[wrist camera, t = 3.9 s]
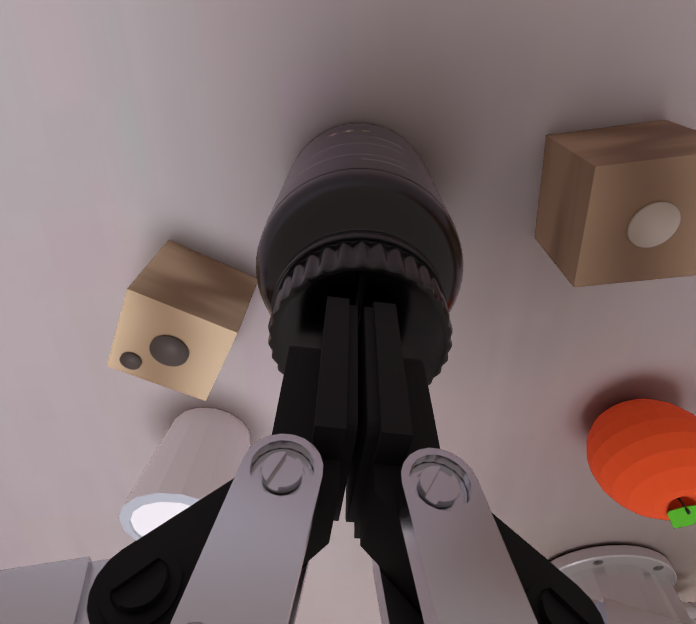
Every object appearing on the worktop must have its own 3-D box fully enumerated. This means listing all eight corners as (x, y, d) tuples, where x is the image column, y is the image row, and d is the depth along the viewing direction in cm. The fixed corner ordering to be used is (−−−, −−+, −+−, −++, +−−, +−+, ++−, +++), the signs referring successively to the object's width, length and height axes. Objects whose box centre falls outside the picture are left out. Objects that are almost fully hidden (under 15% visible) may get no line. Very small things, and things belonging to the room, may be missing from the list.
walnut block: (663, 119, 19) (751, 149, 15) (636, 225, 22) (703, 276, 18) (545, 134, 19) (597, 167, 15) (534, 236, 22) (575, 289, 18)
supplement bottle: (431, 249, 23) (488, 430, 13) (303, 264, 23) (262, 446, 13) (426, 106, 19) (501, 206, 9) (273, 129, 20) (185, 245, 10)
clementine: (683, 439, 31) (760, 540, 25) (580, 465, 32) (630, 565, 27) (675, 361, 27) (765, 459, 21) (558, 396, 28) (611, 495, 23)
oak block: (258, 278, 24) (236, 335, 20) (229, 341, 27) (204, 403, 22) (169, 239, 23) (125, 290, 19) (148, 309, 25) (105, 368, 21)
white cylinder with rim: (217, 387, 29) (181, 481, 23) (278, 446, 32) (260, 541, 26) (142, 422, 31) (92, 516, 25) (206, 474, 34) (175, 568, 28)
